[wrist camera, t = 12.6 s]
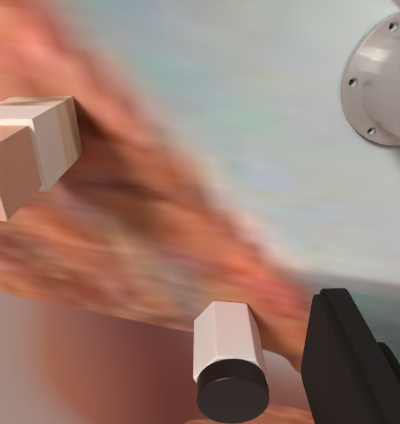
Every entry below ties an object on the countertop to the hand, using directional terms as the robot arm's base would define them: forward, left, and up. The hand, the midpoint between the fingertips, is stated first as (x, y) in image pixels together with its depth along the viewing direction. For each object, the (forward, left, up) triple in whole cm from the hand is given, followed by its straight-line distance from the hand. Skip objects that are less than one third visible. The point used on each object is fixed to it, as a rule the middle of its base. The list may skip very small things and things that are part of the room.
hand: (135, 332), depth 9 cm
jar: (-5, +30, -31) cm, 43 cm away
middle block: (+14, +2, -25) cm, 29 cm away
